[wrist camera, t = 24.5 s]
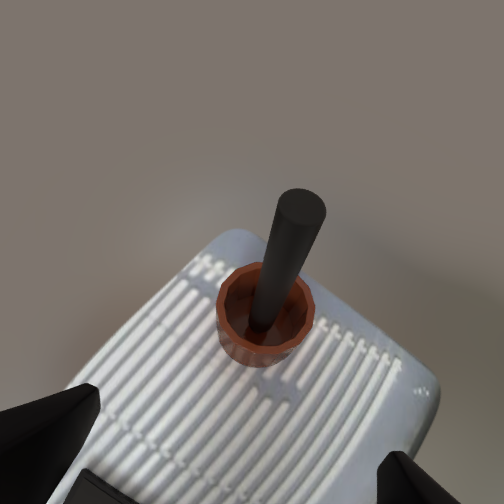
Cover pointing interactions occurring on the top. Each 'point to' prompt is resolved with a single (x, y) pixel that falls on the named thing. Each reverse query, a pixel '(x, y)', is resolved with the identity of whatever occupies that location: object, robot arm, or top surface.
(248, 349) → the pencil cup
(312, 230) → the stylus
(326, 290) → the top surface
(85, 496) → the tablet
